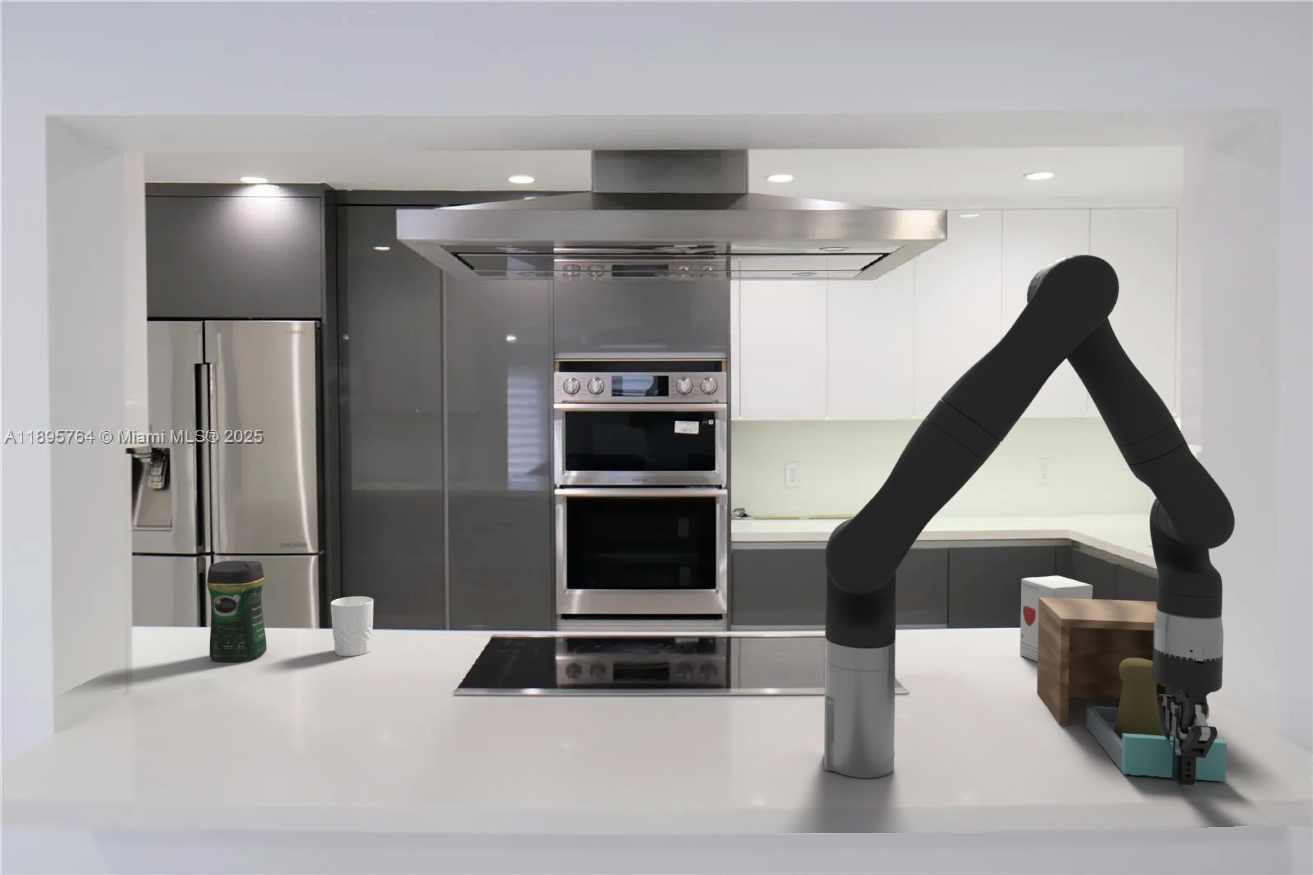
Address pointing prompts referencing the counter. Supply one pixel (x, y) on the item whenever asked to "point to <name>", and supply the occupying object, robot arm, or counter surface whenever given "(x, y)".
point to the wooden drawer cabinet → (1089, 648)
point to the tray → (1149, 749)
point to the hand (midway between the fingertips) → (1183, 782)
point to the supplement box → (1030, 605)
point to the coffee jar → (236, 610)
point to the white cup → (352, 625)
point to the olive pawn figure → (1138, 699)
